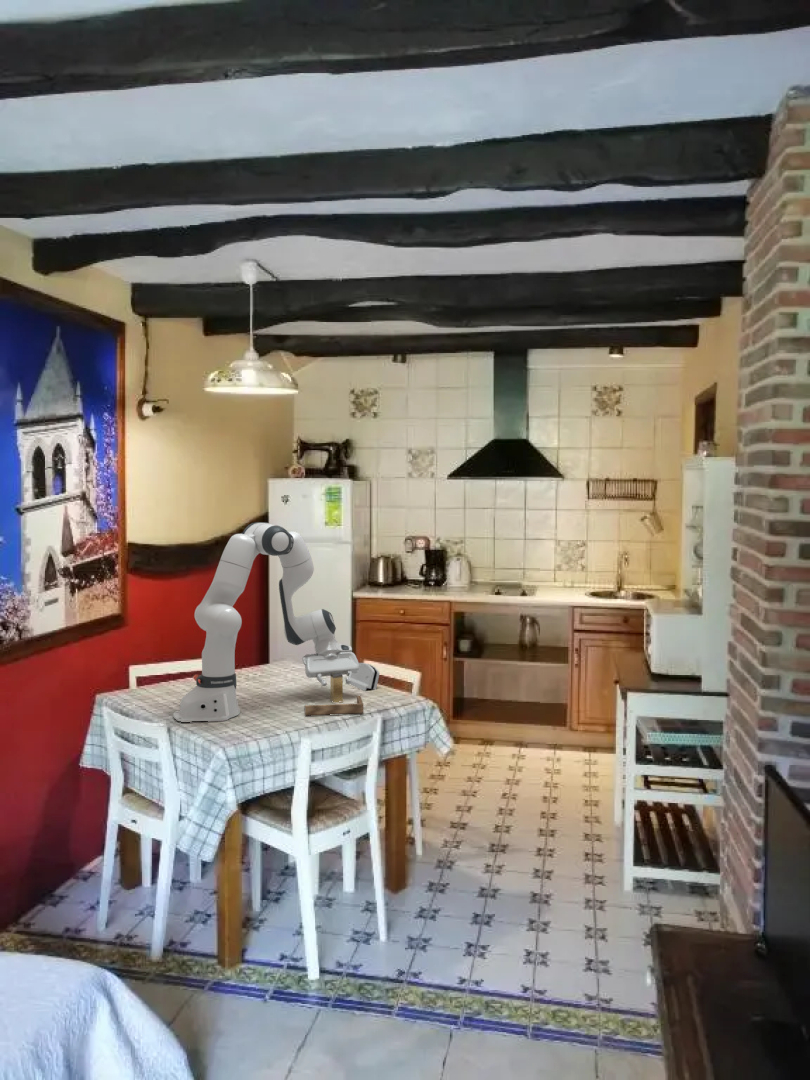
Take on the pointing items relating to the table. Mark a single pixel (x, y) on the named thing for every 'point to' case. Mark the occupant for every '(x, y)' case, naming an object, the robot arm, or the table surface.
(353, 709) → the corner tray
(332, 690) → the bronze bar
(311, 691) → the table surface
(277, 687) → the table surface
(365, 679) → the hinge
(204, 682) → the robot arm
